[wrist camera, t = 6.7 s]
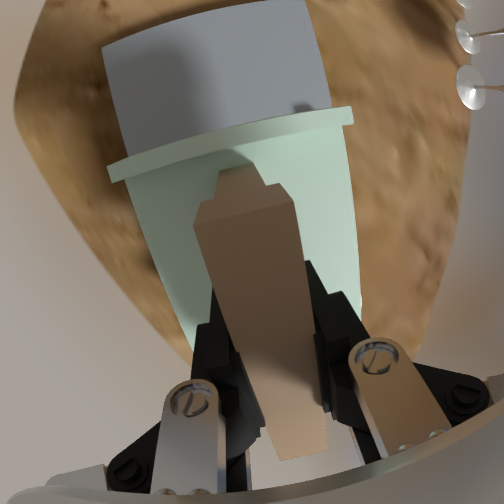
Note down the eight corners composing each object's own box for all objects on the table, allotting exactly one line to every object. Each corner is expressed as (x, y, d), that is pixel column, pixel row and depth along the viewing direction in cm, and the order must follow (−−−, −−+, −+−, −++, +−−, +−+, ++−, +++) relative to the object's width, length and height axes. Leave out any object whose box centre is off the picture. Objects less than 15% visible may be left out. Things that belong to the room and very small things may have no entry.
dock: (115, 55, 18) (79, 37, 12) (294, 10, 17) (316, -23, 11) (191, 300, 27) (183, 348, 21) (343, 263, 26) (371, 304, 20)
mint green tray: (140, 152, 12) (31, 202, 5) (316, 109, 12) (431, 103, 4) (214, 355, 17) (211, 482, 10) (345, 324, 17) (400, 439, 10)
